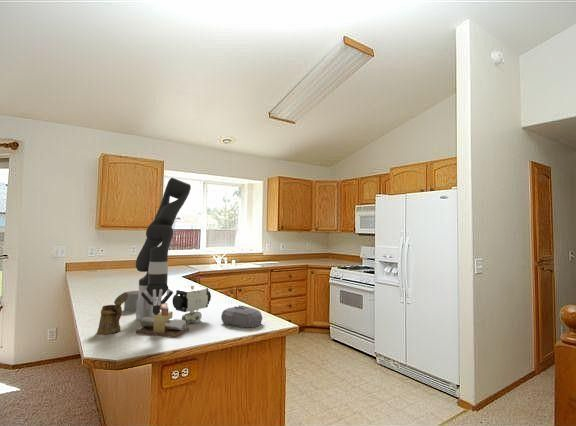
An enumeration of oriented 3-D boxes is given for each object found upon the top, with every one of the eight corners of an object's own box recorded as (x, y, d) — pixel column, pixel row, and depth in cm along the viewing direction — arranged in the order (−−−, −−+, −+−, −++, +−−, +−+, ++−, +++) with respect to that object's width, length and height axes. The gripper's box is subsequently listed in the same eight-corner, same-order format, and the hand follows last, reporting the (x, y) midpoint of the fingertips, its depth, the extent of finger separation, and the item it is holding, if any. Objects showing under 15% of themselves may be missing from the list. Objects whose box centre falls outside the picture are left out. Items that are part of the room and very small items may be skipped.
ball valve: (181, 327, 153) (182, 289, 154) (171, 324, 158) (172, 287, 159) (212, 319, 167) (213, 284, 168) (202, 317, 172) (202, 282, 173)
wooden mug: (115, 337, 139) (116, 293, 140) (92, 333, 144) (94, 291, 145) (132, 331, 147) (133, 290, 148) (109, 328, 152) (111, 288, 153)
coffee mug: (132, 312, 182) (133, 294, 182) (120, 310, 186) (120, 292, 186) (151, 307, 194) (152, 290, 194) (139, 306, 198) (140, 289, 199)
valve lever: (159, 309, 148) (159, 302, 148) (167, 308, 149) (167, 302, 149) (160, 316, 135) (161, 309, 135) (169, 315, 136) (169, 308, 137)
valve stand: (135, 333, 144) (136, 310, 145) (150, 327, 154) (151, 306, 154) (175, 337, 139) (176, 313, 139) (188, 330, 148) (189, 308, 149)
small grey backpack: (217, 324, 159) (249, 331, 149) (217, 307, 160) (250, 312, 149) (237, 318, 172) (269, 323, 162) (237, 301, 173) (269, 306, 162)
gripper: (141, 273, 132) (138, 318, 131) (175, 272, 137) (174, 315, 136) (140, 271, 139) (138, 313, 137) (173, 270, 144) (172, 311, 143)
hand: (156, 314), depth 137 cm, fingers closed
